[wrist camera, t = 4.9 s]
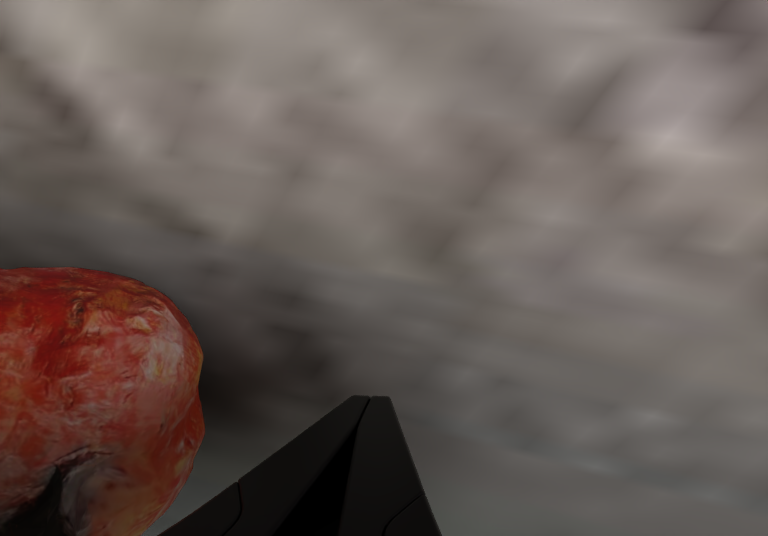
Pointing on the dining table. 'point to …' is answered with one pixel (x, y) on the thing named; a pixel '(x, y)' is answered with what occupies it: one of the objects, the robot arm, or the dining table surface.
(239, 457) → the dining table surface
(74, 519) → the pomegranate
